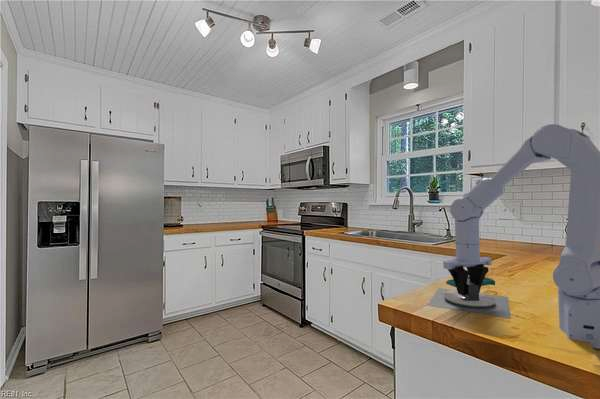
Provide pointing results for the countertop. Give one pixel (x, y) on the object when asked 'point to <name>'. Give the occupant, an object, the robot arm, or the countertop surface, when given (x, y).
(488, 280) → the digital multimeter
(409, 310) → the countertop surface
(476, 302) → the dial
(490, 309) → the dial panel
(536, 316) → the countertop surface
